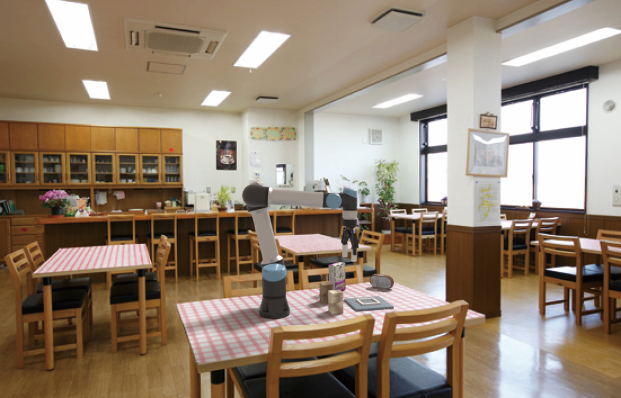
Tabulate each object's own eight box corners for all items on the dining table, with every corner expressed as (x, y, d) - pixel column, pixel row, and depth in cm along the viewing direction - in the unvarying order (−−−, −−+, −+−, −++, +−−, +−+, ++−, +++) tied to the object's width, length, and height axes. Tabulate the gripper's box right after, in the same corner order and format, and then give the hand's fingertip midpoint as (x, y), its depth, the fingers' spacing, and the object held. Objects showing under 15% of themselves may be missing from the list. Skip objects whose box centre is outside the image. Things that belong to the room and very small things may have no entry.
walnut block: (322, 303, 215) (322, 285, 215) (319, 300, 221) (319, 282, 221) (333, 303, 217) (333, 284, 216) (330, 299, 222) (330, 281, 222)
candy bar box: (338, 288, 247) (338, 261, 246) (345, 289, 244) (345, 262, 243) (328, 292, 238) (328, 264, 238) (335, 293, 235) (335, 265, 235)
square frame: (362, 305, 207) (362, 304, 207) (355, 300, 217) (355, 298, 217) (380, 304, 210) (380, 302, 210) (373, 299, 219) (373, 297, 219)
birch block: (331, 314, 198) (331, 293, 197) (328, 310, 203) (328, 290, 203) (343, 313, 199) (343, 292, 199) (339, 309, 205) (339, 289, 205)
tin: (394, 289, 244) (394, 275, 244) (392, 290, 242) (392, 276, 241) (371, 286, 252) (371, 272, 252) (369, 287, 250) (368, 273, 250)
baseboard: (356, 311, 201) (356, 309, 201) (344, 300, 221) (344, 298, 221) (393, 308, 206) (393, 306, 206) (378, 297, 225) (378, 296, 225)
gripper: (365, 220, 201) (365, 263, 202) (348, 217, 225) (347, 255, 226) (351, 220, 199) (350, 263, 200) (335, 217, 223) (334, 255, 224)
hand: (349, 259), depth 213 cm, fingers open, 13 cm apart
